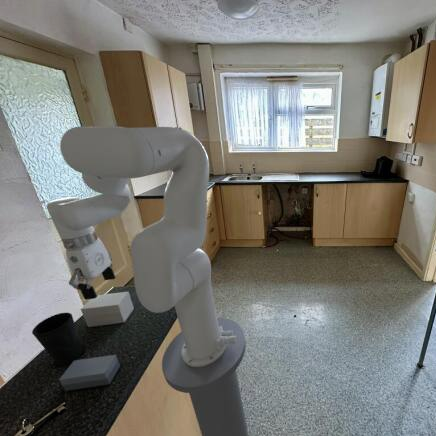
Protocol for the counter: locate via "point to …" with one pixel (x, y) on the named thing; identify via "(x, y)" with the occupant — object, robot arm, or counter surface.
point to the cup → (59, 338)
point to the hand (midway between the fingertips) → (101, 288)
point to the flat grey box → (106, 303)
